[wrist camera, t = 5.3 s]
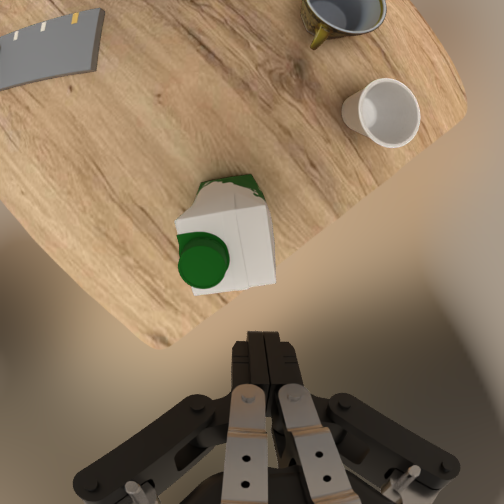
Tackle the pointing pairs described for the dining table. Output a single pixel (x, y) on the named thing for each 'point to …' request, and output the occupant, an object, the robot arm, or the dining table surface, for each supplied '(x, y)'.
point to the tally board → (51, 49)
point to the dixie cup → (383, 113)
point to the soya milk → (226, 238)
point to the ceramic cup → (341, 18)
